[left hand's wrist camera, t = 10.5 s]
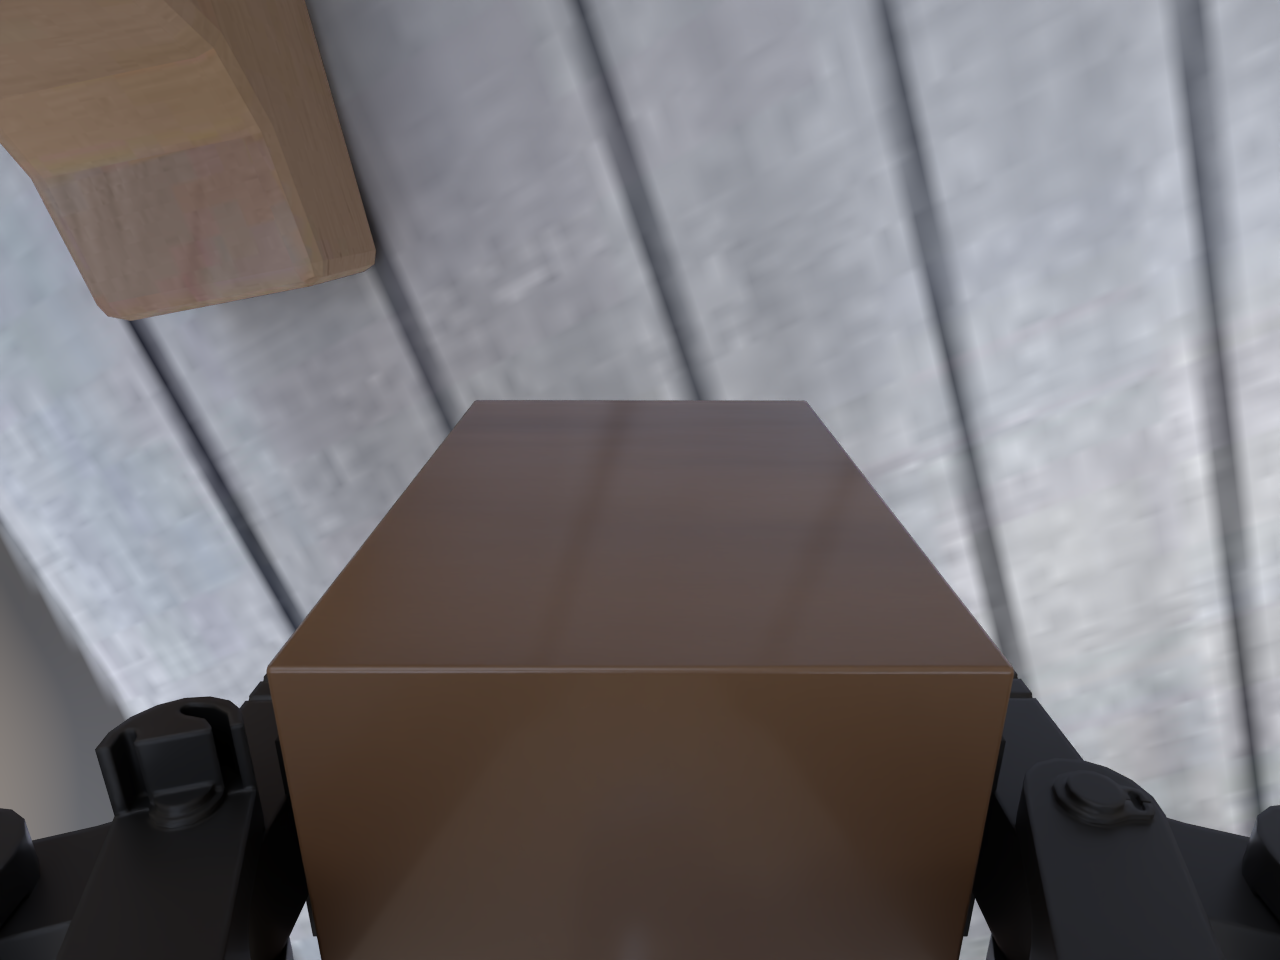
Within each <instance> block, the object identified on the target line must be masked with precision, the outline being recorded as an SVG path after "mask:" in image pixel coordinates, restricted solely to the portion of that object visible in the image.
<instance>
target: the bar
mask: <svg viewBox="0 0 1280 960" xmlns="http://www.w3.org/2000/svg"><path fill="white" fill-rule="evenodd" d="M1013 676H1014V670H1013V667H1012V665H1011V664H1010V663H1009V661H1008V660H1007V659H1006V658H1005V656H1004V655H1003V654H1002V652H1001V651H1000V650H999V649H998V647H997V646H996V645H995V643H994V642H993V641H992V640H991V638H990V637H989V636H988V634H987V633H986V632H985V631H984V629H983V628H982V627H981V625H980V624H979V623H978V622H977V620H976V619H975V618H974V616H973V615H972V614H971V613H970V611H969V610H968V609H967V607H966V606H965V605H964V604H963V602H962V601H961V600H960V598H959V597H958V596H957V595H956V593H955V592H954V591H953V589H952V588H951V587H950V586H949V584H948V583H947V582H946V580H945V579H944V578H943V577H942V575H941V574H940V573H939V571H938V570H937V569H936V568H935V566H934V565H933V564H932V562H931V561H930V560H929V559H928V557H927V556H926V555H925V553H924V552H923V551H922V549H921V548H920V547H919V546H918V544H917V543H916V542H915V540H914V539H913V538H912V537H911V535H910V534H909V533H908V531H907V530H906V529H905V528H904V526H903V525H902V524H901V522H900V521H899V520H898V519H897V517H896V516H895V515H894V513H893V512H892V511H891V510H890V508H889V507H888V506H887V504H886V503H885V502H884V501H883V499H882V498H881V497H880V495H879V494H878V493H877V492H876V490H875V489H874V488H873V486H872V485H871V484H870V483H869V481H868V480H867V479H866V477H865V476H864V475H863V474H862V472H861V471H860V470H859V468H858V467H857V466H856V465H855V463H854V462H853V461H852V459H851V458H850V457H849V456H848V454H847V453H846V452H845V450H844V449H843V448H842V447H841V445H840V444H839V443H838V441H837V440H836V439H835V438H834V436H833V435H832V434H831V432H830V431H829V430H828V429H827V427H826V426H825V425H824V423H823V422H822V421H821V420H820V418H819V417H818V416H817V414H816V413H815V412H814V411H813V409H812V408H811V407H810V405H809V404H808V403H807V402H806V401H608V400H477V401H475V402H474V403H473V404H472V405H471V407H470V408H469V409H468V410H467V412H466V413H465V414H464V416H463V417H462V418H461V419H460V421H459V422H458V423H457V425H456V426H455V427H454V428H453V430H452V431H451V432H450V434H449V435H448V436H447V437H446V439H445V440H444V441H443V442H442V444H441V445H440V446H439V448H438V449H437V450H436V451H435V453H434V454H433V455H432V457H431V458H430V459H429V460H428V462H427V463H426V464H425V465H424V467H423V468H422V469H421V471H420V472H419V473H418V474H417V476H416V477H415V478H414V480H413V481H412V482H411V483H410V485H409V486H408V487H407V489H406V490H405V491H404V492H403V494H402V495H401V496H400V497H399V499H398V500H397V501H396V503H395V504H394V505H393V506H392V508H391V509H390V510H389V512H388V513H387V514H386V515H385V517H384V518H383V519H382V521H381V522H380V523H379V524H378V526H377V527H376V528H375V529H374V531H373V532H372V533H371V535H370V536H369V537H368V538H367V540H366V541H365V542H364V544H363V545H362V546H361V547H360V549H359V550H358V551H357V552H356V554H355V555H354V556H353V558H352V559H351V560H350V561H349V563H348V564H347V565H346V567H345V568H344V569H343V570H342V572H341V573H340V574H339V576H338V577H337V578H336V579H335V581H334V582H333V583H332V584H331V586H330V587H329V588H328V590H327V591H326V592H325V593H324V595H323V596H322V597H321V599H320V600H319V601H318V602H317V604H316V605H315V606H314V608H313V609H312V610H311V611H310V613H309V614H308V615H307V616H306V618H305V619H304V620H303V622H302V623H301V624H300V625H299V627H298V628H297V629H296V631H295V632H294V633H293V634H292V636H291V637H290V638H289V639H288V641H287V642H286V643H285V645H284V646H283V647H282V648H281V650H280V651H279V652H278V654H277V655H276V656H275V657H274V659H273V660H272V661H271V663H270V664H269V665H268V667H267V678H268V683H269V688H270V693H271V699H272V704H273V709H274V714H275V719H276V725H277V730H278V735H279V740H280V746H281V751H282V756H283V761H284V766H285V772H286V777H287V782H288V787H289V793H290V798H291V803H292V808H293V814H294V819H295V824H296V829H297V834H298V840H299V845H300V850H301V855H302V861H303V866H304V871H305V876H306V881H307V887H308V892H309V897H310V902H311V908H312V913H313V918H314V923H315V929H316V934H317V939H318V944H319V949H320V955H321V960H959V955H960V950H961V945H962V940H963V935H964V930H965V924H966V919H967V914H968V909H969V904H970V899H971V893H972V888H973V883H974V878H975V873H976V868H977V862H978V857H979V852H980V847H981V842H982V837H983V831H984V826H985V821H986V816H987V811H988V806H989V800H990V795H991V790H992V785H993V780H994V775H995V769H996V764H997V759H998V754H999V749H1000V744H1001V738H1002V733H1003V728H1004V723H1005V718H1006V713H1007V707H1008V702H1009V697H1010V692H1011V687H1012V682H1013Z"/></svg>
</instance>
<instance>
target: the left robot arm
mask: <svg viewBox="0 0 1280 960" xmlns="http://www.w3.org/2000/svg"><path fill="white" fill-rule="evenodd" d="M1013 670H1014V669H1013ZM95 751H96V754H97V758H98V761H99V765H100V768H101V771H102V775H103V778H104V781H105V785H106V788H107V792H108V795H109V798H110V802H111V805H112V809H113V812H114V815H115V817H114V819H113V821H112V822H109V823H106V824H103V825H99V826H95V827H91V828H86V829H82V830H77V831H73V832H68V833H64V834H59V835H55V836H51V837H46V838H42V839H37V840H33V841H32V840H31V837H30V834H29V831H28V828H27V825H26V822H25V819H24V818H22V817H21V816H20V815H18V814H17V813H16V812H14V811H13V810H11V809H1V808H0V960H294V959H293V953H292V947H291V942H290V938H289V936H290V934H291V932H292V929H293V927H294V925H295V923H296V921H297V919H298V917H299V914H300V912H301V910H302V908H303V906H304V904H305V902H306V903H307V908H308V913H309V918H310V923H311V928H312V933H313V936H317V934H316V929H315V923H314V918H313V913H312V908H311V902H310V897H309V892H308V887H307V881H306V876H305V871H304V866H303V861H302V855H301V850H300V845H299V840H298V834H297V829H296V824H295V819H294V814H293V808H292V803H291V798H290V793H289V787H288V782H287V777H286V772H285V766H284V761H283V756H282V751H281V746H280V740H279V735H278V730H277V725H276V719H275V714H274V709H273V704H272V699H271V693H270V688H269V683H268V678H267V673H266V675H265V676H264V681H263V682H260V683H259V684H258V685H257V687H256V688H255V689H254V690H253V692H252V693H251V694H250V696H249V701H245V702H244V704H243V705H242V706H241V707H240V708H238V707H237V706H236V705H235V704H233V703H232V702H231V701H229V700H224V699H220V698H215V697H194V698H183V699H179V700H176V701H172V702H168V703H164V704H160V705H157V706H154V707H152V708H150V709H148V710H145V711H143V712H141V713H139V714H137V715H134V716H132V717H130V718H129V719H127V720H126V721H124V722H123V723H122V724H120V725H119V726H117V727H116V728H115V729H113V730H112V731H110V732H109V733H108V734H107V735H106V737H105V738H104V739H103V740H102V742H101V743H100V744H99V745H98V747H97V748H96V749H95ZM975 899H976V901H977V903H978V905H979V907H980V909H981V911H982V914H983V916H984V918H985V920H986V922H987V924H988V926H989V928H990V931H991V938H990V942H989V947H988V952H987V957H986V960H1280V805H1278V806H1270V807H1269V808H1267V809H1266V810H1265V811H1263V812H1262V813H1261V814H1259V815H1258V816H1257V819H1256V822H1255V825H1254V827H1253V830H1252V833H1251V836H1250V838H1249V837H1245V836H1241V835H1236V834H1232V833H1227V832H1223V831H1218V830H1214V829H1209V828H1205V827H1200V826H1196V825H1191V824H1187V823H1183V822H1180V821H1176V820H1173V819H1169V818H1166V815H1165V814H1164V812H1163V811H1162V809H1161V808H1160V806H1159V805H1158V804H1157V802H1156V801H1155V799H1154V798H1153V797H1152V796H1151V795H1150V794H1149V793H1147V792H1146V791H1145V790H1144V789H1142V788H1141V787H1140V786H1139V785H1137V784H1136V783H1135V782H1134V781H1133V780H1131V779H1129V778H1127V777H1125V776H1123V775H1121V774H1119V773H1117V772H1115V771H1113V770H1111V769H1109V768H1107V767H1104V766H1101V765H1097V764H1094V763H1090V762H1087V761H1084V760H1083V759H1082V758H1081V756H1080V755H1079V754H1078V752H1077V751H1076V750H1075V749H1074V747H1073V746H1072V745H1071V743H1070V742H1069V741H1068V740H1067V738H1066V737H1065V736H1064V734H1063V733H1062V732H1061V730H1060V729H1059V728H1058V727H1057V725H1056V724H1055V723H1054V721H1053V720H1052V719H1051V717H1050V716H1049V715H1048V714H1047V712H1046V711H1045V710H1044V708H1043V707H1042V706H1041V704H1040V703H1039V702H1038V701H1037V699H1036V698H1032V693H1031V691H1030V690H1029V689H1028V688H1027V686H1026V685H1025V684H1024V682H1023V681H1022V680H1021V679H1018V678H1017V673H1016V672H1015V671H1014V676H1013V682H1012V687H1011V692H1010V697H1009V702H1008V707H1007V713H1006V718H1005V723H1004V728H1003V733H1002V738H1001V744H1000V749H999V754H998V759H997V764H996V769H995V775H994V780H993V785H992V790H991V795H990V800H989V806H988V811H987V816H986V821H985V826H984V831H983V837H982V842H981V847H980V852H979V857H978V862H977V868H976V873H975V878H974V883H973V888H972V893H971V899H970V904H969V909H968V914H967V919H966V924H965V930H964V935H963V936H968V931H969V926H970V921H971V916H972V911H973V906H974V900H975Z"/></svg>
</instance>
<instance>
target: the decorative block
mask: <svg viewBox="0 0 1280 960" xmlns="http://www.w3.org/2000/svg"><path fill="white" fill-rule="evenodd" d="M0 143H1V144H2V146H3V147H4V148H5V149H6V150H7V151H8V153H9V154H10V155H11V156H12V157H13V158H14V159H15V161H16V162H17V163H18V164H19V165H20V166H21V168H22V169H23V170H24V171H25V172H26V173H27V175H28V176H29V177H30V178H31V179H32V181H33V183H34V185H35V187H36V189H37V191H38V193H39V195H40V196H41V198H42V200H43V202H44V204H45V206H46V208H47V210H48V212H49V214H50V216H51V218H52V219H53V221H54V223H55V225H56V227H57V229H58V231H59V233H60V235H61V237H62V239H63V240H64V242H65V244H66V246H67V248H68V250H69V252H70V254H71V256H72V258H73V260H74V262H75V263H76V265H77V267H78V269H79V271H80V273H81V275H82V277H83V279H84V281H85V283H86V285H87V286H88V288H89V290H90V292H91V294H92V296H93V298H94V300H95V302H96V304H97V305H98V306H99V307H100V309H101V310H102V311H103V312H104V313H105V314H106V315H107V316H109V317H114V318H120V319H125V320H130V321H132V320H137V319H142V318H148V317H153V316H158V315H163V314H168V313H174V312H179V311H184V310H189V309H194V308H199V307H205V306H210V305H215V304H220V303H225V302H231V301H236V300H241V299H246V298H251V297H256V296H262V295H267V294H272V293H277V292H282V291H288V290H293V289H298V288H303V287H308V286H313V285H316V284H320V283H324V282H327V281H331V280H335V279H338V278H342V277H346V276H349V275H353V274H357V273H360V272H364V271H365V270H367V269H368V268H370V267H371V266H372V265H374V264H375V254H376V249H375V246H374V242H373V238H372V235H371V231H370V228H369V224H368V221H367V217H366V214H365V210H364V207H363V203H362V200H361V196H360V193H359V189H358V186H357V182H356V179H355V175H354V172H353V168H352V164H351V161H350V157H349V154H348V150H347V147H346V143H345V140H344V136H343V133H342V129H341V126H340V122H339V119H338V115H337V112H336V108H335V105H334V101H333V97H332V94H331V90H330V87H329V83H328V80H327V76H326V73H325V69H324V66H323V62H322V59H321V55H320V52H319V48H318V45H317V41H316V38H315V34H314V31H313V27H312V24H311V20H310V17H309V13H308V10H307V6H306V3H305V0H0Z"/></svg>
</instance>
